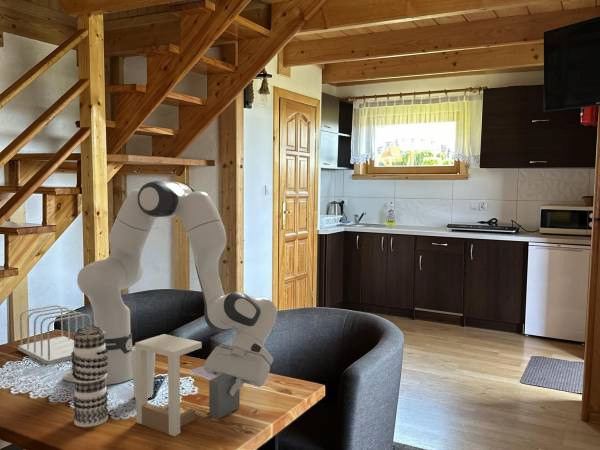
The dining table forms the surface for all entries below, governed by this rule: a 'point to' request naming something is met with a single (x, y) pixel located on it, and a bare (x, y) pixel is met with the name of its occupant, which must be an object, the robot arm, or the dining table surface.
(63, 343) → the file sorter
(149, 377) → the drinking glass
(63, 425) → the dining table surface
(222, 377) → the slate tile
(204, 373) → the mobile phone
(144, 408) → the shelf
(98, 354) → the decorative candle
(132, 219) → the robot arm
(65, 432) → the dining table surface
